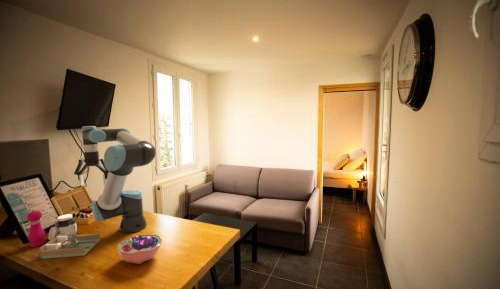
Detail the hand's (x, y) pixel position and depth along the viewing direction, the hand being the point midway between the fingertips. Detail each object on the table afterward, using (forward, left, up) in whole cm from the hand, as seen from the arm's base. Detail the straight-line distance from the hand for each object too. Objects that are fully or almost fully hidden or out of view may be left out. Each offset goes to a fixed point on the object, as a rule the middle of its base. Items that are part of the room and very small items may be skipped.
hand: (93, 184), depth 146 cm
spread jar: (+13, +12, -27) cm, 32 cm away
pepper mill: (+21, +19, -27) cm, 39 cm away
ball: (+6, +27, -25) cm, 37 cm away
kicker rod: (0, +27, -25) cm, 37 cm away
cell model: (-40, +42, -27) cm, 64 cm away
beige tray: (-1, +27, -27) cm, 38 cm away
